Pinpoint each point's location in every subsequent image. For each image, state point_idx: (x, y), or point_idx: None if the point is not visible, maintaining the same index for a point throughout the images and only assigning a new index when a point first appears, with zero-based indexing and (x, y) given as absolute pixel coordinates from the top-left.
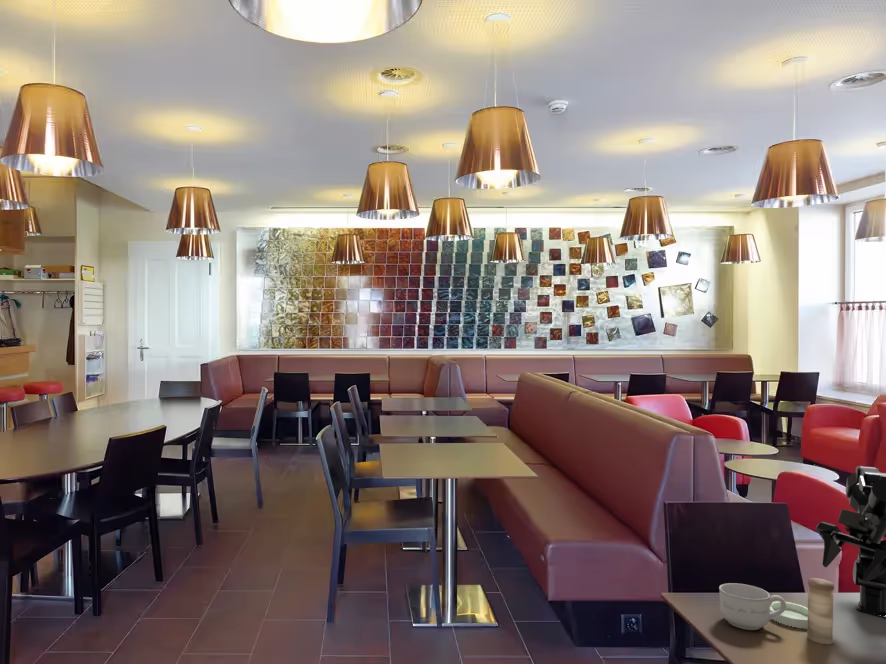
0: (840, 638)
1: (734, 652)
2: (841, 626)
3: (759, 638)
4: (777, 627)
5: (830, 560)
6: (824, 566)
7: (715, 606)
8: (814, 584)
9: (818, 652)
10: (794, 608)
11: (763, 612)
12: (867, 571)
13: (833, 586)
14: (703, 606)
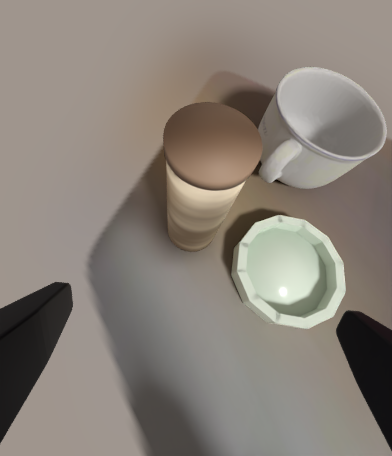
0: (171, 274)
1: (222, 78)
2: (207, 352)
3: None
4: (260, 203)
5: (385, 406)
6: (341, 320)
7: (366, 184)
8: (210, 103)
9: (160, 173)
10: (311, 312)
11: (263, 121)
12: (8, 320)
13: (164, 145)
14: (369, 166)
